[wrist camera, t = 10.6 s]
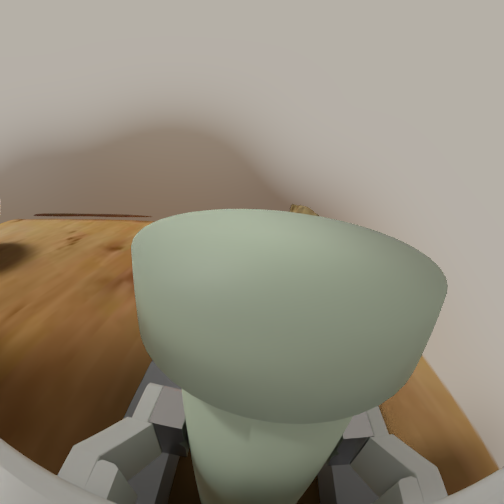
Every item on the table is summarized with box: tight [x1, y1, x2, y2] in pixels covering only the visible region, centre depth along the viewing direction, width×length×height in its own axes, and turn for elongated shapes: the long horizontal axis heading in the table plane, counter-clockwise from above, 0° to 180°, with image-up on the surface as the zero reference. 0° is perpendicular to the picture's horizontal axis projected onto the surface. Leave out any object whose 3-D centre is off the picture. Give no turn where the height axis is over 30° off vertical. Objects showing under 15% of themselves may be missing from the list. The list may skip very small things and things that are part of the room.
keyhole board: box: [123, 360, 379, 504], centre depth 13 cm, size 22×13×2 cm, turn 177°
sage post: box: [131, 209, 448, 504], centre depth 7 cm, size 6×6×12 cm
